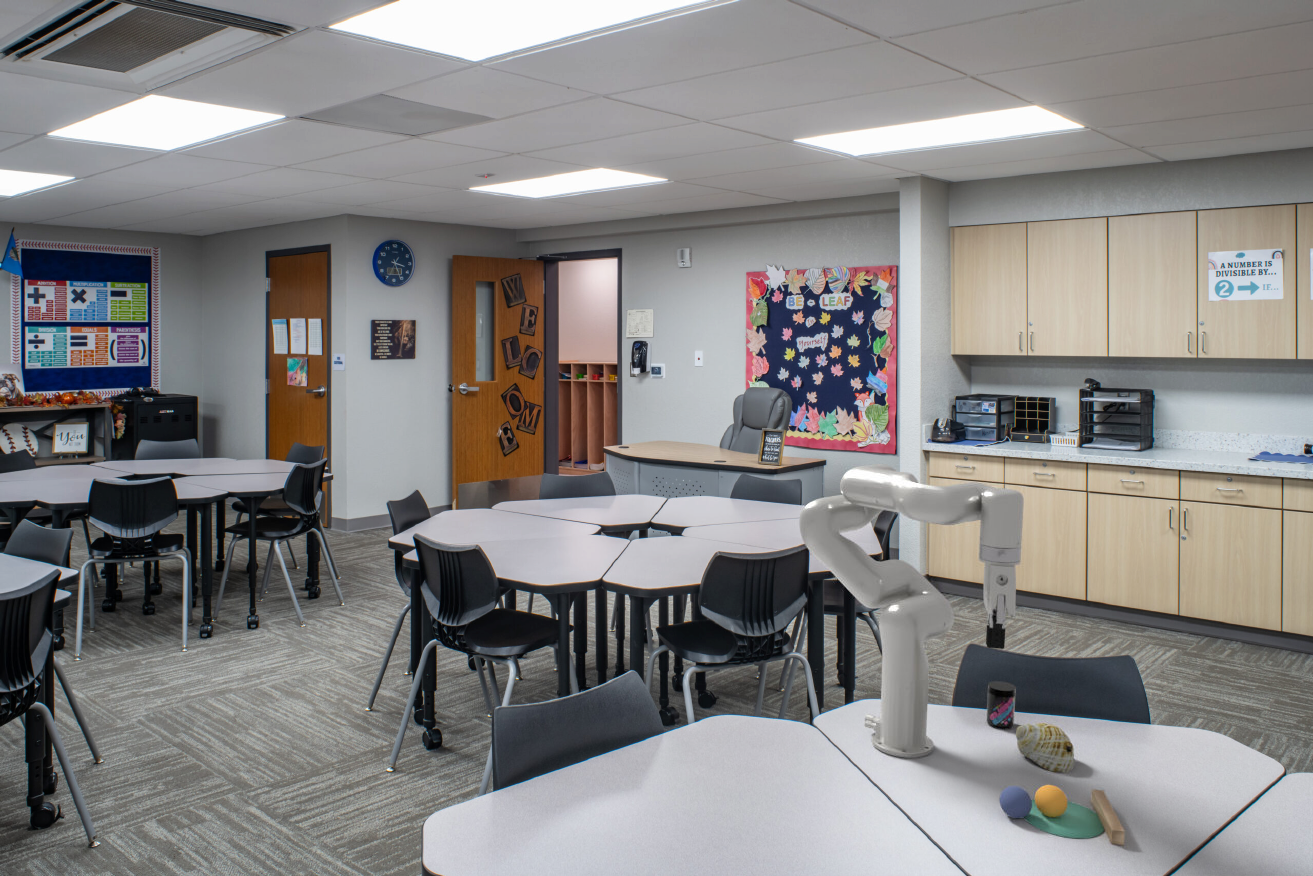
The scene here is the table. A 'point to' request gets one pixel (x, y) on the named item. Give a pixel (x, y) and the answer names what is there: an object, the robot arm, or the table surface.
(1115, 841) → the wall
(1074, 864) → the table surface
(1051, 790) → the orange ball
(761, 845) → the table surface
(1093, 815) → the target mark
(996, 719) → the supplement container
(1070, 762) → the seashell
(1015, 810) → the slate blue ball
